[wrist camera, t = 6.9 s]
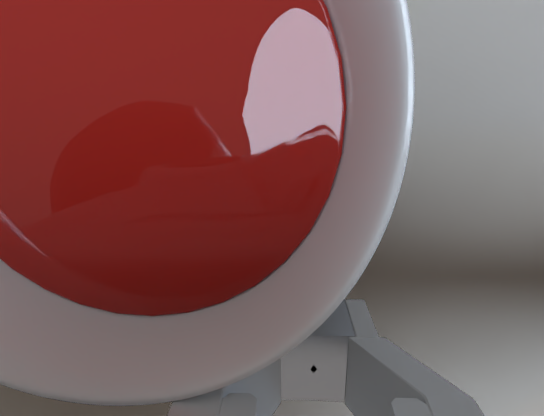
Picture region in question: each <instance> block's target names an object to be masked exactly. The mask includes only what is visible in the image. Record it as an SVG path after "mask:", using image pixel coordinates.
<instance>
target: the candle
mask: <svg viewBox="0 0 544 416" xmlns="http://www.w3.org/2000/svg"><path fill="white" fill-rule="evenodd" d="M414 97H415V66H414V49H413V39H412V30H411V22H410V16H409V9H408V3H407V0H0V385H3V386H6V387H9V388H12V389H15V390H18V391H22V392H25V393H29V394H32V395H36V396H40V397H45V398H49V399H54V400H59V401H65V402H72V403H79V404H88V405H101V406H137V405H150V404H159V403H166V402H172V401H177V400H182V399H187V398H191V397H195V396H199V395H202V394H206V393H209V392H212V391H215V390H218V389H221V388H223V387H226V386H229V385H231V384H234V383H236V382H238V381H240V380H243V379H245V378H247V377H249V376H251V375H253V374H255V373H257V372H259V371H260V370H262V369H264V368H266V367H267V366H269V365H271V364H272V363H274V362H276V361H277V360H279V359H280V358H282V357H283V356H284V355H286V354H287V353H289V352H290V351H291V350H293V349H294V348H295V347H297V346H298V345H299V344H301V343H302V342H303V341H304V340H305V339H306V338H308V337H309V336H310V335H311V334H312V333H313V332H314V331H315V330H316V329H318V328H319V327H320V326H321V325H322V324H323V323H324V322H325V321H326V320H327V319H328V318H329V317H330V315H331V314H332V313H333V312H334V311H335V310H336V309H337V307H338V306H339V305H340V304H341V303H342V301H343V300H344V299H345V298H346V296H347V295H348V294H349V292H350V291H351V290H352V288H353V287H354V286H355V284H356V283H357V281H358V280H359V278H360V277H361V275H362V274H363V272H364V270H365V269H366V267H367V265H368V264H369V262H370V260H371V258H372V257H373V255H374V253H375V251H376V249H377V247H378V245H379V243H380V241H381V239H382V237H383V234H384V232H385V230H386V228H387V225H388V223H389V220H390V218H391V215H392V213H393V210H394V207H395V204H396V201H397V198H398V195H399V191H400V188H401V184H402V181H403V177H404V173H405V168H406V164H407V159H408V153H409V148H410V142H411V134H412V127H413V115H414Z"/></svg>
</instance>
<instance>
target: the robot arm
mask: <svg viewBox="0 0 544 416" xmlns="http://www.w3.org/2000/svg"><path fill="white" fill-rule="evenodd" d="M281 400H318V401H335V402H345V405H346V406H347V407H348V408H349V410H350V411H351V412H352V413H353V415H354V416H484V414H483V413H482V411H481V409H480V408H479V406H478V405H477V403H476V401H475V400H474V399H473V398H472V397H471V396H469V395H468V394H466V393H465V392H463V391H462V390H460V389H459V388H457V387H456V386H455V385H453V384H452V383H450V382H449V381H447V380H446V379H444V378H443V377H441V376H440V375H439V374H437V373H436V372H434V371H433V370H431V369H430V368H428V367H427V366H426V365H424V364H423V363H421V362H420V361H418V360H417V359H415V358H414V357H412V356H411V355H410V354H408V353H407V352H405V351H404V350H402V349H401V348H399V347H398V346H396V345H395V344H394V343H392V342H391V341H389V340H388V339H386V338H384V337H379V336H378V333H377V331H376V328H375V325H374V323H373V320H372V318H371V315H370V313H369V310H368V308H367V305H366V303H365V301H364V300H363V299H350V300H343V301H342V303H341V304H340V305H339V306H338V307H337V309H336V310H335V311H334V312H333V313H332V314H331V315H330V317H329V318H328V319H327V320H326V321H325V322H324V323H323V324H322V325H321V326H320V327H319V328H318V329H316V330H315V331H314V332H313V333H312V334H311V335H310V336H309V337H308V338H306V339H305V340H304V341H303V342H302V343H301V344H299V345H298V346H297V347H295V348H294V349H293V350H291V351H290V352H289V353H287V354H286V355H284V356H283V357H282V358H280V359H279V360H277V361H276V362H274V363H272V364H271V365H269V366H267V367H266V368H264V369H262V370H260V371H259V372H257V373H255V374H253V375H251V376H249V377H247V378H245V379H243V380H240V381H238V382H236V383H234V384H231V385H229V386H226V387H223V388H221V389H218V390H215V391H212V392H209V393H206V394H202V395H199V396H195V397H191V398H187V399H182V400H177V401H173V402H172V405H171V407H170V410H169V412H168V415H167V416H272V415H273V413H274V412H275V410H276V409H277V408H278V406H279V405H280V403H281Z"/></svg>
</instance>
